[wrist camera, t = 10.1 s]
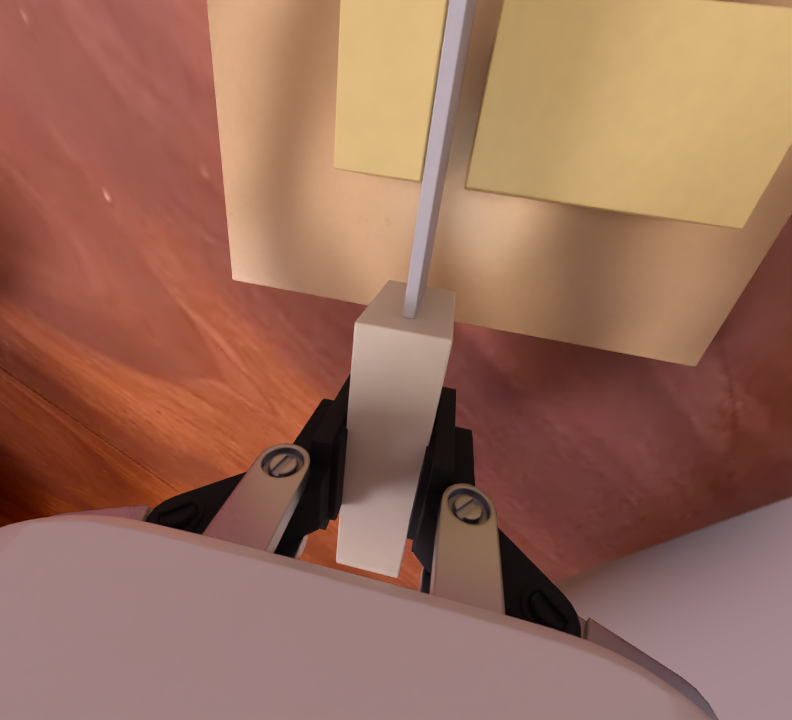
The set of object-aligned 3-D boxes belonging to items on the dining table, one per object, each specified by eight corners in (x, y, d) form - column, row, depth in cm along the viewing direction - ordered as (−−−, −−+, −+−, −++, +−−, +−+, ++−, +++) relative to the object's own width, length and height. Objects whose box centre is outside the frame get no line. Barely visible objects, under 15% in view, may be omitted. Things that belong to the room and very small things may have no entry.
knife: (412, 487, 15) (397, 579, 11) (364, 476, 15) (335, 562, 12) (574, -249, 6) (735, -871, 2) (453, -253, 6) (444, -833, 3)
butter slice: (454, 40, 10) (451, -26, 7) (431, 184, 12) (420, 181, 9) (376, 31, 11) (341, -36, 8) (364, 174, 12) (333, 168, 9)
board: (967, -151, 8) (1063, -216, 7) (674, 351, 15) (695, 367, 13) (219, -187, 10) (183, -244, 9) (250, 273, 17) (232, 280, 15)
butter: (738, 70, 10) (869, 12, 6) (667, 220, 11) (743, 229, 8) (493, 44, 10) (507, -21, 7) (463, 189, 12) (464, 188, 9)
